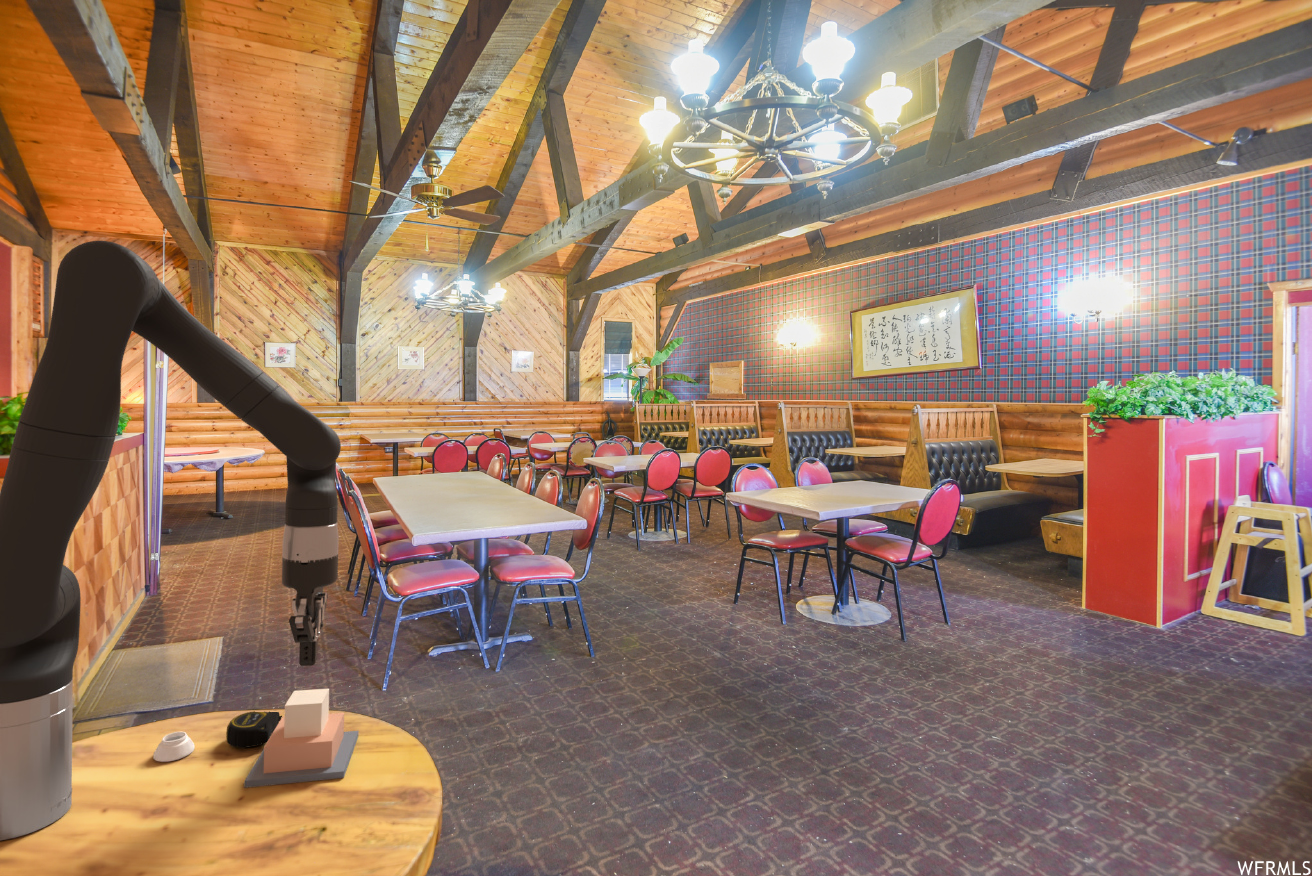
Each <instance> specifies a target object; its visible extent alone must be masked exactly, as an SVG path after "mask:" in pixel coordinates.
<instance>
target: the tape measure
mask: <svg viewBox="0 0 1312 876" xmlns="http://www.w3.org/2000/svg"><path fill="white" fill-rule="evenodd" d="M255 711H256V710H255ZM255 711H249V712H245V713H244V712H243V713H242V714H239V715H237V716H235V717H234V718H232V719H231V720H230V721H229V722H228V725H227V726H226V736H225V737H226V738H225V739H226V742H227V744H228V745H230V746H231V747H233V748H238V749H239V748H240V749H245V748H250V747H255V746H261V745H266V743H267V741H268V740H269V738H270V737H271V735H272V733H273V732H274V730H275V728H276V727H277V725H278V723H279V722H280V720H281V719H282V717H283V715H280V712H279V711H278V712H270V711H264V712H255Z"/></svg>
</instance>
